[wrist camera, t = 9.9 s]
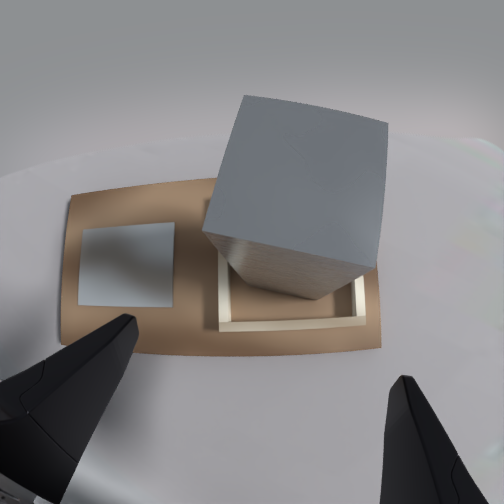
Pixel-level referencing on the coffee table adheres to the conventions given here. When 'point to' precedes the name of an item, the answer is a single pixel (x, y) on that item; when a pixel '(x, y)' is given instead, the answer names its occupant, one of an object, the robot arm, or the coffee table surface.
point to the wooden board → (192, 283)
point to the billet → (299, 197)
